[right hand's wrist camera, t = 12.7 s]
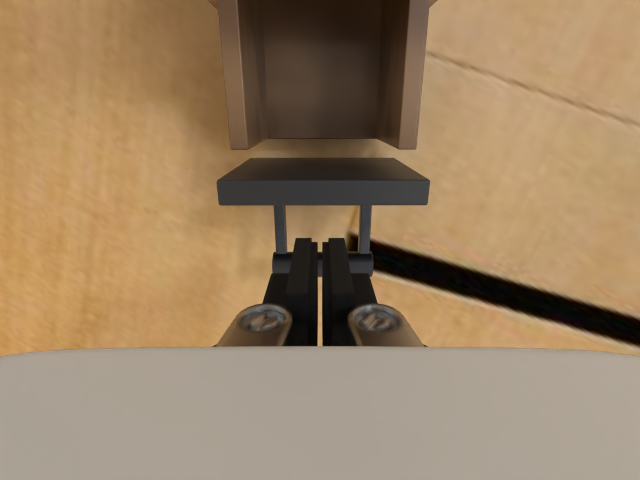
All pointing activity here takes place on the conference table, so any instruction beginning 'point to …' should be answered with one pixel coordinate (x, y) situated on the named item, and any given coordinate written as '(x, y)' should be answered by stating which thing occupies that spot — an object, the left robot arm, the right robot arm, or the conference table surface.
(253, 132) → the drawer
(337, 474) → the right robot arm
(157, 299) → the conference table surface
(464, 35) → the conference table surface
